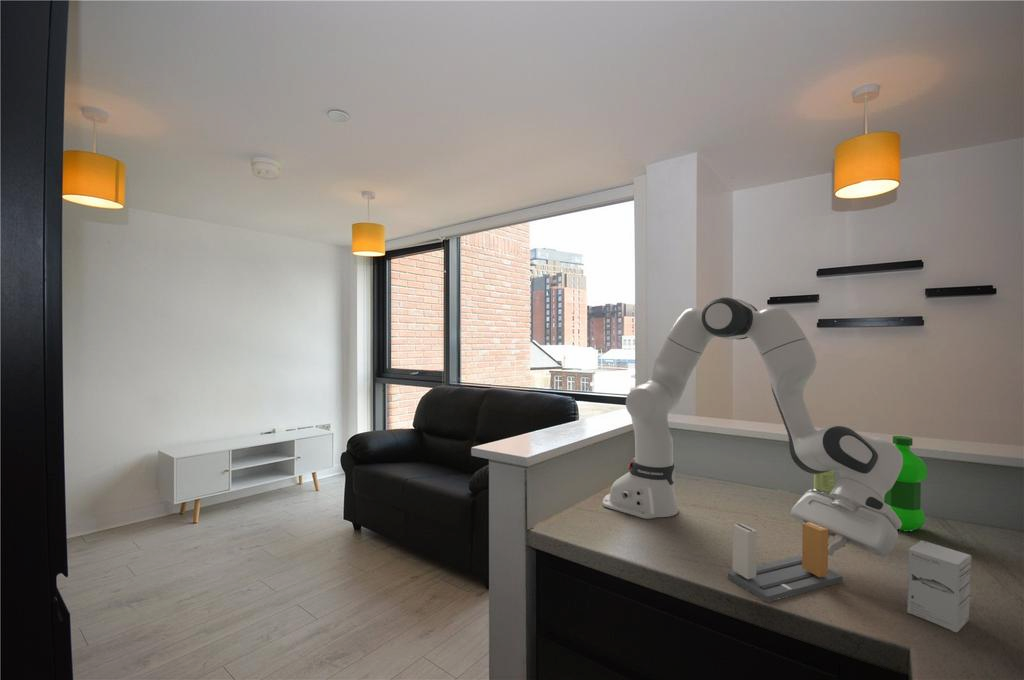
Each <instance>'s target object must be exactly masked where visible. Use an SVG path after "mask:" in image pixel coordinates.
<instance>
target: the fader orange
mask: <svg viewBox="0 0 1024 680" xmlns="http://www.w3.org/2000/svg"><path fill="white" fill-rule="evenodd" d="M801 539H802V545H801V547H802V550H801V551H802V554H801V556H802V568H803V569H804V570H806V571H808V572H810V573H812V574H814V575H816V576H818V577H823V576H827V575H828V569H829V555H828V544H829V538H828V529H827V528H824V527H822V526H819V525H817V524H814V523H812V522H807V523H803V524H802V537H801Z"/></svg>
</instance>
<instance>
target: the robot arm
mask: <svg viewBox="0 0 1024 680" xmlns="http://www.w3.org/2000/svg"><path fill="white" fill-rule="evenodd" d="M715 337H718V338H721V339H726V340H745V339H748V338H749V340H751V341H752V342H753V343H754V344H755V346H756V348H757V350H758V351H759V354H760V356H761V358H762V360H763V362H764V365H765V367H766V370H767V372H768V376H769V381H770V386H771V391H772V395H773V397H774V401H775V403H776V406H777V409H778V411H779V414H780V417H781V419H782V422H783V425H784V427H785V430H786V433H787V436H788V443H789V444H788V445H789V453H790V456H791V459H792V460H793V462H794V464H795V465H796V466H797V467H798V468H799V469H801V470H803V471H804V472H805V473H809V474H812V475H814V474H821V473H824V472H828V471H833V470H834V472H835V473H838V474H839V479H838V480H837V482H836V483H835V484H834V488H833V489H832V491H831V493H827V492H823V491H820V490H818V489H814V488H813V489H809V490H806V492H805V493H804V494H803V495H802V496H801V497H800V498H799V499H798V500H797V501H796V503H795V504H794V505H793V506H792V508H791V511H790V512H791V516H792V517H793V518H794V519H795V520H796V521H797V522H798V523H800V524H802V525H803V523H807V522H812V523H814V524H817V525H819V526H822V527H824V528H827V529H828V539H829V538H830V537H833V538H834V540H833V541H831V542H828V556H831V557H832V556H833V555H834V554H835V552H836V551H837V550H840V549H843V548H844V547H846V546H847V544H850V545H852V546H855V547H858V548H860V549H863V550H865V551H867V552H869V553H872V554H874V555H877V556H878V557H881V558H884V557H888V556H889V555H890V554H892V551H893V550H894V548H895V546H896V543H897V542H898V538H899V532H898V529H900V528H901V526H902V523H901V521H900V519H899V518H898V516H897V515H896V513H895V512H894V511H893V510H892V509H891V508H890V506H889V505H887V504H886V503H884V496H885V494H886V493H887V492H888V491H889V490H890V489H891V488H892V487H893V485H894V483H895V482H896V480H897V478H898V476H899V474H900V471H901V469H902V465H903V456H902V454H901V452H900V451H899V449H898V448H897V447H895V444H894V443H893V442H892V443H891V442H890V441H888V440H886V439H884V438H881V437H877V436H876V437H875V436H873V437H872V436H871V437H870V436H866V435H863V434H860V433H858V432H856V431H855V430H853V429H852V428H850V427H846V426H843V425H842V426H841V425H836V426H830V427H827V428H822V429H819V430H817V429H816V427H815V426H814V423H813V421H812V419H811V416H810V414H809V411H808V408H807V406H806V403H805V401H804V391H805V387H806V385H807V382H808V381H809V380H810V378H811V377H812V375H813V374H814V372H815V370H816V366H817V359H816V354H815V352H814V349H813V347H812V345H811V343H810V341H809V339H808V337H807V336H806V334H805V333H804V331H803V329H802V328H801V326H800V325H799V323H798V322H797V321H796V319H795V318H794V317H793V316H792V314H791V313H790V312H789V311H788V310H787V309H786V308H783V307H781V306H769V307H765V308H763V309H760V310H758V309H757V308H756V307H755V306H754V305H752V304H750V303H748V302H746V301H745V300H742V299H738V298H732V297H725V296H724V297H719V298H715V299H712V300H711V301H709V302H708V303H706V305H705V306H704V307H703V309H702V308H697V307H690V308H687V309H685V310H684V311H683V312H682V313H681V314H680V315H679V317H678V318H677V319H676V321H675V322H674V323H673V325H672V326H671V328H670V330H669V332H668V333H667V335H666V337H665V338H664V341H663V342H662V344H661V346H660V348H659V350H658V351H657V353H656V356H655V358H654V365H653V368H652V371H651V375H650V377H649V378H648V380H647V381H646V382H645V383H640V384H638V385H636V386H635V387H633V389H631V390H630V391H629V392H628V394H627V396H626V397H625V407H626V410H627V412H628V414H629V415H630V418H631V422H632V426H633V432H634V442H635V443H634V444H635V445H634V451H635V453H634V454H635V455H634V456H635V457H633V458H631V460H630V461H629V462H628V464H627V469H628V472H627V473H625V474H623V475H622V476H620V477H619V478H617V479H616V480H615V481H614V482H613V483H612V484H611V485H612V486H611V488H610V492H609V493H608V494H606V495H605V496H604V497H603V499H602V506H603V507H605V508H608V509H612V510H614V511H617V512H621V513H625V514H628V515H632V516H634V517H638V518H642V519H645V520H650V519H655V518H667V517H673V516H675V515H677V514H678V512H679V507H678V504H677V500H676V495H675V493H676V492H675V487H674V485H675V481H676V477H675V476H676V470H675V464H674V457H673V456H674V445H673V444H674V438H673V435H672V434H671V431H670V425H669V419H668V415H669V414H671V413H672V412H673V411H675V410H676V408H677V407H678V406H679V403H680V401H681V398H682V396H683V394H684V391H685V388H686V386H687V385H688V384H687V383H688V381H689V379H690V376H691V374H692V372H693V371H694V369H695V367H696V365H697V363H698V361H699V360H700V359H701V356H702V354H703V353H704V352H705V349H706V348H707V346H708V344H709V343H710V341H711V340H712V339H714V338H715Z"/></svg>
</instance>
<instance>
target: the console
mask: <svg viewBox="0 0 1024 680" xmlns="http://www.w3.org/2000/svg"><path fill="white" fill-rule="evenodd" d="M728 577H729V578H730V579H729V578H728ZM727 578H728V579H729V580H731V579H732V580H733V581H732V580H731V581H732V582H734V581H735V582H736V584H737V583H738V584H737V585H739V586H740V585H741V586H740V587H742V586H743V587H744V588H743V587H742V588H743V589H745V588H746V589H748V590H749V591H748V590H747V591H748V592H750V591H751V592H752V593H751V592H750V593H751V594H753V593H754V594H755V596H756V595H757V596H756V597H758V598H759V597H760V598H759V599H761V600H762V599H763V601H764V602H765V601H766V602H765V603H770V602H769V601H771V602H773V601H772V600H775V599H778V598H782V599H784V598H783V597H785V598H787V597H786V596H789V597H791V596H790V595H793V596H796V595H799V593H800V594H803V592H804V593H807V592H810V591H814V590H817V589H821V588H825V587H828V586H832V585H835V584H840V583H843V581H844V580H843V579H844V576H843V575H841V574H840V573H837V572H834V571H833V570H831V569H829V568H828V575H827V576H823V577H818V576H816V575H814V574H812V573H810V572H808V571H806V570H804V569H803V568H802V555H800V554H799V555H795V556H790V557H786V558H782V559H778V560H777V559H776V560H774V561H768V562H765V563H761V564H756V577H755V578H751V579H746V578H745V577H743V576H742V575H740V574H738V573H737V572H735V571H733V570H731V571H727ZM735 582H734V583H735ZM746 589H745V590H746ZM754 594H753V595H754ZM795 594H796V595H795ZM778 600H779V599H778ZM775 601H776V600H775Z"/></svg>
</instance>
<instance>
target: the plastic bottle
mask: <svg viewBox="0 0 1024 680" xmlns="http://www.w3.org/2000/svg"><path fill="white" fill-rule="evenodd" d="M892 444H893V445H894V446H895V447H897V448H898V449H899V451H900V452H901V454H902V456H903V465H902V469H901V471H900V474H899V476H898V478H897V480H896V482H895V483H894V485H893V487H892V488H891V489H890V490H889V491H888V492H887V493H886V494H885V496H884V503H886V504H887V505H889V506H890V508H891V509H892V510H893V511H894V512H895V513H896V515H897V516H898V518H899V519H900V521H901V523H902V526H901V528H900V529H899V531H901V530H905V531H904V532H908V531H910V530H914V531H916V530H918V529H920V528H922V527H923V526H924V524H925V522H926V516H925V513H924V511H923V509H922V508H921V485H922V482H923V481H925V480H927V476H928V468H927V465H926V463H925V461H923V459H921V458H920V457H919V456H918V455H917V454H916V453H914V452H912V450H910V449H911V446H913V437H910V436H905V435H904V436H902V435H892ZM906 530H907V531H906ZM910 532H911V531H910Z"/></svg>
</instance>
